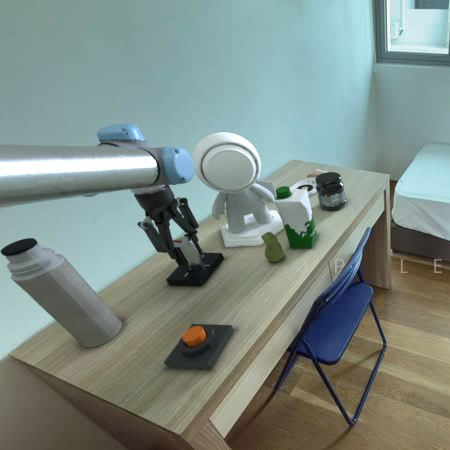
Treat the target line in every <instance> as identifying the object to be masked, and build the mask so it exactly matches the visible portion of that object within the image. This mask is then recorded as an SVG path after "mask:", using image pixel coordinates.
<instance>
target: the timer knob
mask: <svg viewBox="0 0 450 450" xmlns="http://www.w3.org/2000/svg"><path fill="white" fill-rule="evenodd" d="M173 243H174V247H178V248H179V250H180V251H181V253H182V255H183V256H184V258H185V260H186V262H187V263H188V266H187V267H185V266H184V268H185V269H186V270H187V271H194V270H197V269H199V268H200V267H202V266H203V264H204V261H203V259H202V257H201V255H200V253H199V251H198V250H197V248H196V246H195V244H194V242H193V240H192V239H191V237H188V236H185V237H184V236H181V237H178V238H176V239H173Z"/></svg>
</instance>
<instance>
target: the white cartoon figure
mask: <svg viewBox="0 0 450 450" xmlns="http://www.w3.org/2000/svg"><path fill="white" fill-rule="evenodd" d="M191 158H192V160H193V164H194V170H195V171H194V174H195V175H196V176H197V178H198V179H199V180H200V181H201V183H202V184H204V185H205V186H206V187H208V188H210V189H211V190H213V191H215V192H218V194H217V195H216V197H215V199H214V201H213V204H212V206H211V214H212V217H213V218H214V219H215V220H216V221H219V220H220V217H219V216H220V215H222V216H225V214H226V220H227V221H226V224H223V225H222V226H221V227H220V233H221V236H222V239H223V243H224V247H225V248H239V247H240V248H241V247H258V246H259V247H260V246H262V245H263V244H265V242H264V241H263V239H262V237H261V236H262V235H264V234H265V233H266V232H272V233H273V234H274V235H275V236H276V235H278V234H279V232H281V231H283V230H285V228H284V225H283V222H282V219H281V216H280V213H279V211H277V210H273V209H271V210H269V208H268V207H267V205H266V204H265V203H267V202H268V201H270V202H271V204H275V203H274V202H275V200H276V199H274V196H273V194H272V193H271V192H270V191H269V190H267V189H266V188H264V187H262V186H261V185H259V184H256V183H255V182H256V180H257V179H259V177H260V175H261V169H262V162H261V158H260V155H259V152H258V151H257V149H256V147H255V146H254V145H253V144H252V143H251V142H250V141H249V140H248V139H246V138H244V136H241V135H239V134H236V133H233V132H228V131H227V132H225V131H223V132H222V131H221V132H214V133H211V134H209V135H206V136H205V137H203V138H202V139H201V140H200V141H198V143H197V144H196V146H195V147H194V150H193V152H192V156H191ZM256 193H257V194H258V195H260V196H261V197H260V196H258V195H257V194H256ZM225 210H226V211H225ZM225 212H226V213H225Z"/></svg>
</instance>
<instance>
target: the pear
mask: <svg viewBox="0 0 450 450" xmlns="http://www.w3.org/2000/svg"><path fill="white" fill-rule="evenodd" d="M261 237H262V239H263V241H264V242H265V243H264V244H265V249H264V257H265V259H266V260H267V261H268V262H271V263H276V262H279V261H280V260H282V259H283V257H284V250H283V246H282V244H281V243H280V242H279V240H278V238H277V236H276V235H274V234H273V233H272V232H266V233H265V234H264V235H262V236H261Z"/></svg>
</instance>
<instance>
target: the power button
mask: <svg viewBox="0 0 450 450" xmlns="http://www.w3.org/2000/svg"><path fill="white" fill-rule="evenodd" d="M182 336H183V340H184V342H185V343H186V344H187V346H189V347H194V346H197V345H199V344H200V343H202V342H203V341H204V340H205V338H206V333H205V331H204V330H203V328H202V327H201V326H194V327H192V328H190V329H189V328H188V329H187V330H186V331H185V332H184V333H183V335H182Z"/></svg>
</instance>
